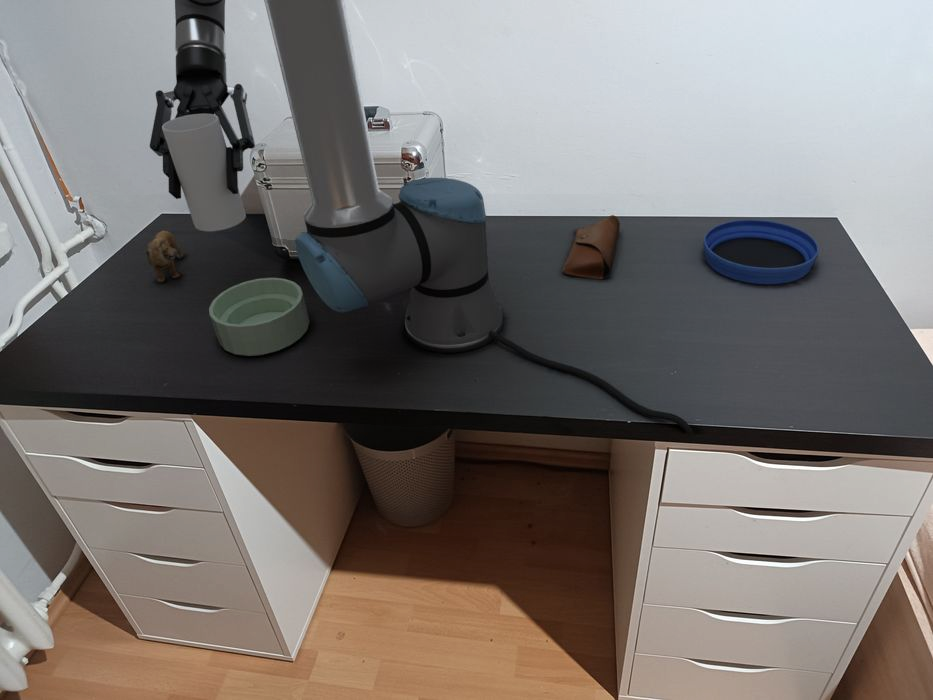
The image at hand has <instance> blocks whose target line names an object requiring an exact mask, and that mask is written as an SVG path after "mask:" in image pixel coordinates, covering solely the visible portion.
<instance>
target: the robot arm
mask: <svg viewBox="0 0 933 700" xmlns="http://www.w3.org/2000/svg"><path fill="white" fill-rule="evenodd" d="M263 1H264V6H265V10H266V13H267V19H268V22H269V26H270V30H271V34H272V38H273V43H274V47H275V51H276V56H277V59H278V63H279V67H280V72H281V76H282V80H283V84H284V85H283V86H284V87H285V94H286V97H287V101H288V106H289V110H290V113H291V117H292V123H293V126H294V131H295V134H296V139H297V143H298V147H299V152H300V155H301V156H300V157H301V159H302V164H303V167H304V172H305V177H306V180H307V186H308V188H309V189H308V190H309V192H310V196H311V202H310V204H309V205H308V207H307V208H306V209H305V211H304V212H303V219H304V223H305V227H306V232H305V231H302V232H300V234H299V235H297V236H296V237H295V241H294V243H295V251H296V254H297V258H298V260H299V262H300V265H301V267H302V269H303V272H304V273H305V276H306V277H307V279H308V281H309V283H310V284H311V286H312V287H313V289H314V291H315V292H316V294H317V295H318V297H319V298H320V299H321V300H322V302H323V303H324V304H325V305H326V306H328V307H329V309H331V310H333V311H335V312H337V313H341V314H343V313H348V312H351V311H354V310H357V309H360V308H367V307H369V306H370V305H371V304H374V303H377V302H379V301H382V300H384V299H387V298H389V297H392V296H394V295H397V294H399V293H403V292H404V291H407V290H409V289H410V293H409V297H407V298H406V299H405V301H404V302H403V303H402V306H403V310H405V309H406V311H405V316H404V317H405V318H404V324H405V331H406V335H407V337H408V339H409V340H410V341H411V342H412V343H413V344H415V345H416V346H417V347H419V348H421V349H424V350H427V351H429V352H435V353H442V354H456V353H463V352H468V351H473V350H475V349H478V348H482V347H483V346H485V345H487V344H489V343H490V342H491V341H493V340H495V341H496V342H499V343H500V344H502V345H504V346H505V347H507V348H509V349H511V350H512V351H514V352H516V353H518V354H519V355H521V356H522V357H525V358H526V359H528V360H530V361H533V362H535V363H536V364H537V363H538V364H539V365H543V366H545V367H549V368H551V369H555V370H559V371H562V372H566V373H569V374H572V375H576V376H578V377H581V378H584V379H585V380H587V381H590V382H592V383H594V384H596V385H597V386H599V387H601V388H602V389H604V390H605V391H606V392H608V393H609V394H611V395H612V396H613V397H614V398H616V399H617V400H618V401H620V402H621V403H623V404H624V405H625V406H627V407H628V408H630V409H632V410H633V411H635V412H637V413H639V414H640V415H643V416H645V417H648V418H653V419H659V420H665V421H669V422H671V423H675V424H676V425H678V426H679V428H681V430H683V432H685V433H686V434H689V435H691V434H693V433H694V430H693V428H692V427H691V426H690V425H689V423H688V422H687V421H686V420H685V419H683V418H682V417H681V416H679V415H676V414H673V413H670V412H667V411H666V412H665V411H658V410H654V409H650V408H647V407H645V406H643V405H641V404H639V403H638V402H636V401H634V400H633V399H631V398H630V397H628V396H626V395H625V394H624V393H622V392H621V391H620V390H618V389H617V388H615V387H614V386H613V385H611V384H610V383H609V382H607V381H605V380H604V379H602V378H600V377H599V376H597V375H595V374H593V373H590V372H588V371H586V370H584V369H581V368H577V367H575V366H572V365H568V364H564V363H561V362H557V361H554V360H551V359H549V358H548V359H547V358H545V357H542V356H539V355H537V354H535V353H532V352H530V351H528V350H526V349H525V348H523V347H522V346H521V345H518V344H517V343H515V342H514V341H511V340H510V339H508V338H506V337H504V336H502V335H501V334H500V333H501V331H502V329H503V326H504V325H503V323H504V319H503V317H504V316H503V309H502V306H501V303H500V302H499V300H498V299H497V296H496V294H495V291H494V288H493V286H492V283H491V281H490V279H489V261H488V260H489V259H488V243H487V240H488V239H487V225H486V224H487V223H486V222H487V220H488V219H487V218H488V217H487V214H486V207H485V201H484V197H483V194H482V192H481V191H480V190H479V188H477V187H476V186H474V185H473V184H471V183H469V182H466V181H463V180H459V179H456V178H448V177H425V178H418V179H412V180H410V181H408V182H405V183H404V184H403V185H402V186H401V187H400V188H399V193H398V200H399V202H397V203H394V201H393V198H392V197H391V196H390V195H389V194H387V193H385V192H384V191H382V190H381V189H380V188H379V182H378V176H377V171H376V166H375V161H374V155H373V149H372V144H371V139H370V133H369V127H368V122H367V117H366V112H365V106H364V101H363V96H362V91H361V84H360V80H359V74H358V68H357V63H356V57H355V52H354V47H353V41H352V35H351V30H350V25H349V20H348V14H347V9H346V3H345V0H263ZM174 15H175V16H174V18H175V36H174V37H175V38H174V39H175V41H174V42H175V47H174V50H175V81H176V84H175V86H174V88H173V90H172V91H166V92H164V91H163V90H157V91H156V92H155V99H156V109H155V116H154V120H153V126H152V130H151V135H150V141H149V148H150V150H152V152H153V153H155V154H156V155H157V156H158V157H162V172H163V175H165V176H166V177H167V178H168V193H169V194H170V195H171V196H172V197H173V198H174V199H176V200H179V199H182V187H181V184H180V181H179V178H178V175H177V172H176V169H175V166H174V163H173V160H172V157H171V154H170V151H169V148H168V145H167V142H166V139H165V136H164V133H163V129H162V126H163V124H165V123H166V122H168V121H170V120H172V119H171V118H172V114H173V113H172V112H173V111H172V109H173V108H174V107H175V102H176V100H178V102H179V103H178V105H177V107H176V115H175V116H174V119H175V118H179V117H182V116H187V115H193V114H213V115H216V116H217V117H218V119H219V122H220V125H221V129H222V131H223V133H224V134H225V136H226V138H227V140H228V143H229V144H230V145H231V146H227V147H226V167H227V188H228V189H229V190H230V191H231V192H232V193H233V194H238V189H239V181H238V179H239V178H238V177H239V176H238V172H243V170H244V152H245V151H246V150H249V149H250V150H251V149H254V148H255V147H256V143H255V138H254V134H253V130H252V126H251V122H250V117H249V113H248V110H247V109H248V108H247V100H248V93H247V92H246V90H245V88H244V86H243V85H242V84H241V83H236V84H235V85H234V86H228V84H227V81H228V80H227V62H226V59H227V56H226V55H227V52H226V46H227V45H226V0H174ZM229 97H230V99H231V100H232V101H233V106H234V110H235V113H236V114H235V115H236V119H237V121H238V122H237V123H238V127H239V131H240V136H241V138H239V137H238V135H237V133H236V132H235V130H234V128H233V126H232V124H231V122H230V120H229V119H228V116H227V114H226V112H225V110H224V108H223V104H224V103H225V102H226V100H227V99H228V98H229Z"/></svg>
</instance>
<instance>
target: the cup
mask: <svg viewBox="0 0 933 700" xmlns="http://www.w3.org/2000/svg"><path fill="white" fill-rule="evenodd" d="M162 129H163V133H164V136H165V139H166V142H167V145H168V148H169V151H170V154H171V157H172V160H173V163H174V166H175V169H176V172H177V175H178V178H179V181H180V184H181V191H182V193H183V195H184V199H185V201H186V205H187V208H188V211H189V214H190V217H191V220H192V223H193V227H194V228H195V229H196V230H198V231H203V232H218V231H223V230H227V229H230V228H234V227H235V226H237V225H240V224H241V223H242V222H243V221H244V220H245V219H246V218H247V215H246V211H245V207H244V205H243V204H244V203H243V200H242V196H241V193H240V190H239V188H238V194H233V193H232V192H231V191H230V190H229V189H228V188H227V167H226V147H228V146H227V143H226V140H225V135H224V131H223V128H222V127H221V125H220V122H219V119H218V117H217V116H216V115H215V114H214V115H213V114H193V115H187V116H182V117H179V118H175V117H174V118H172V119H171V120H170V121H168V122H166V123H165V124H163V126H162Z"/></svg>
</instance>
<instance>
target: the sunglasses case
mask: <svg viewBox="0 0 933 700" xmlns="http://www.w3.org/2000/svg"><path fill="white" fill-rule="evenodd" d="M620 224H621V223H620V220H619V217H617V216H616V215H614V214H611V215H609V216H607V217H605V218H604V219H602V220H600V221H597V222H594V223H592V224H588V225H585V226H582V227H580V228H577V229H576V230H575V234H574V239H573V241H572V245H571V247H570V251H569V253H568V255H567V258H566V260H565V262H564V264H563V267H562V270H561V273H563V274H565V275H568V276H573V277H578V278H582V279H583V278H584V279H593V280H604V279H606V278H608V277H609V276H610V274H611V271H612V266H613V261H614V256H615V252H616V247H617V242H618V237H619V234H620V226H621V225H620Z"/></svg>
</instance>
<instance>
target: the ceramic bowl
mask: <svg viewBox="0 0 933 700" xmlns="http://www.w3.org/2000/svg"><path fill="white" fill-rule="evenodd" d="M208 312H209V318H210V320H211V323H212V326H213V329H214V332H215V335H216V338H217V340H218V344H219V345H220V346H221V348H223V349H224V351H227V352H228V353H230V354H233V355H238V356H245V357H247V356H248V357H253V356H263V355H267V354H270V353H275V352H278V351H280V350H283V349H285V348H287V347H290V346H291V345H293V344H294V343H296V342H297V341H298V340H300V339H301V338H302V337H303V336H304V335H305V333H306V332H307V331H308V329H309V326H310V319H309V318H310V317H309V313H308V310H307V305H306V301H305V297H304V293H303V291H302V287H301V286H300V285H298V284H297V283H296V282H295V281H292V280H290V279H286V278H282V277H281V278H278V277H263V278H254V279H251V280H246V281H244V282H240V283H238V284H236V285H233V286H230V287H229V288H227V289H225V290H224V291H222V292H221V293H220V294H218V295H217V296H216V297H215V298H214V299H213V300H212V302H211V303H210V305H209V308H208Z"/></svg>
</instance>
